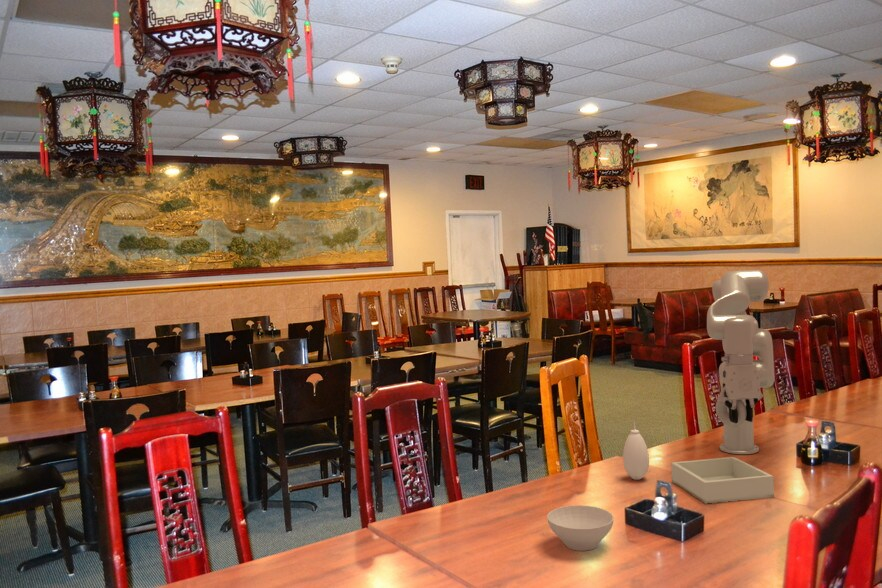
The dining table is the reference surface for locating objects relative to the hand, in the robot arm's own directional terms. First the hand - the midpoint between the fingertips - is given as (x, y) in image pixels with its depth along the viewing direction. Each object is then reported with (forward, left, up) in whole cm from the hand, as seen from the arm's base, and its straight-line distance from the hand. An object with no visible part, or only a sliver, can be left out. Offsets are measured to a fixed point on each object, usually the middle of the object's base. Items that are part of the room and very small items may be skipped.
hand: (741, 420), depth 206 cm
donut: (-4, -1, -3) cm, 5 cm away
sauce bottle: (-15, -26, -20) cm, 36 cm away
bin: (+1, -7, -19) cm, 21 cm away
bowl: (+29, -59, -20) cm, 69 cm away
